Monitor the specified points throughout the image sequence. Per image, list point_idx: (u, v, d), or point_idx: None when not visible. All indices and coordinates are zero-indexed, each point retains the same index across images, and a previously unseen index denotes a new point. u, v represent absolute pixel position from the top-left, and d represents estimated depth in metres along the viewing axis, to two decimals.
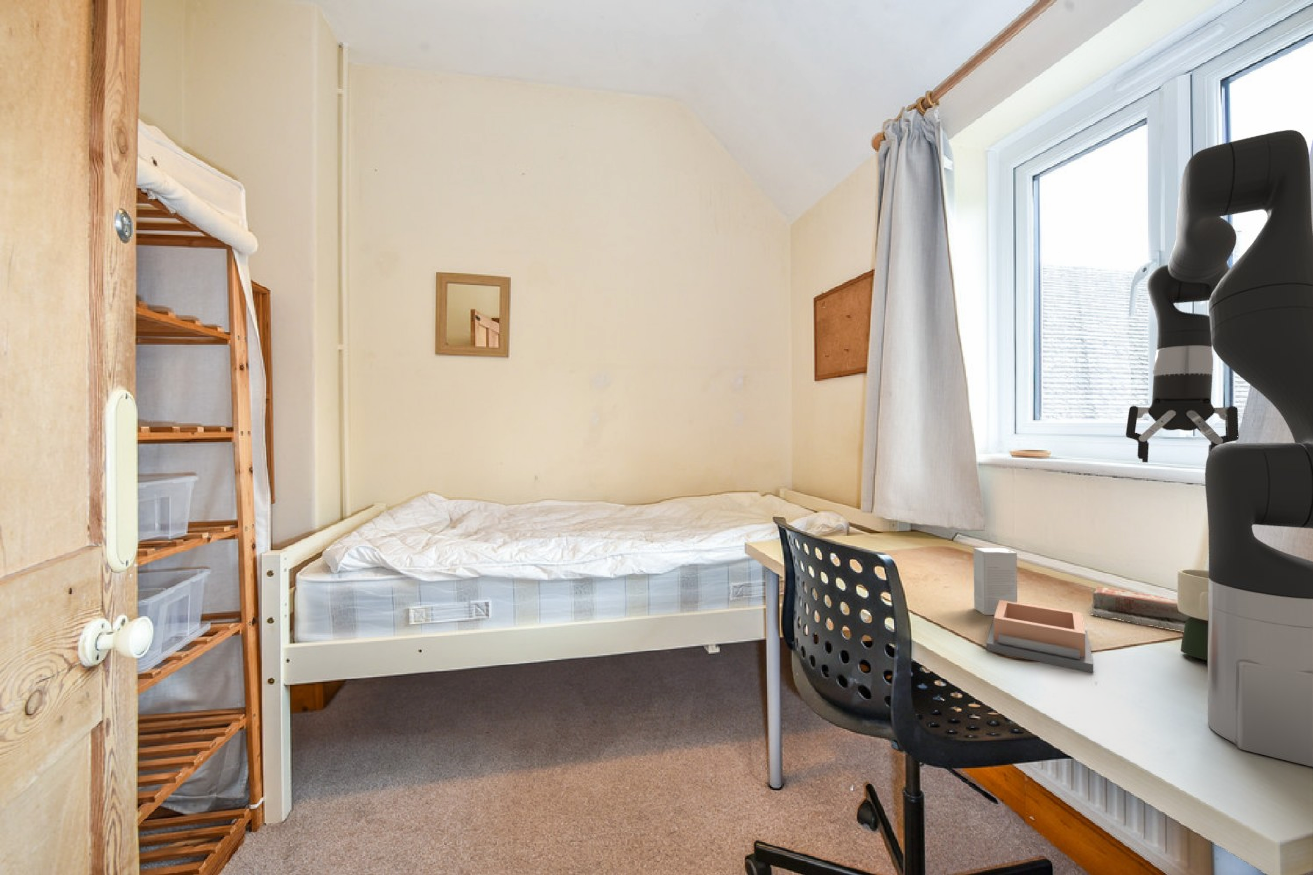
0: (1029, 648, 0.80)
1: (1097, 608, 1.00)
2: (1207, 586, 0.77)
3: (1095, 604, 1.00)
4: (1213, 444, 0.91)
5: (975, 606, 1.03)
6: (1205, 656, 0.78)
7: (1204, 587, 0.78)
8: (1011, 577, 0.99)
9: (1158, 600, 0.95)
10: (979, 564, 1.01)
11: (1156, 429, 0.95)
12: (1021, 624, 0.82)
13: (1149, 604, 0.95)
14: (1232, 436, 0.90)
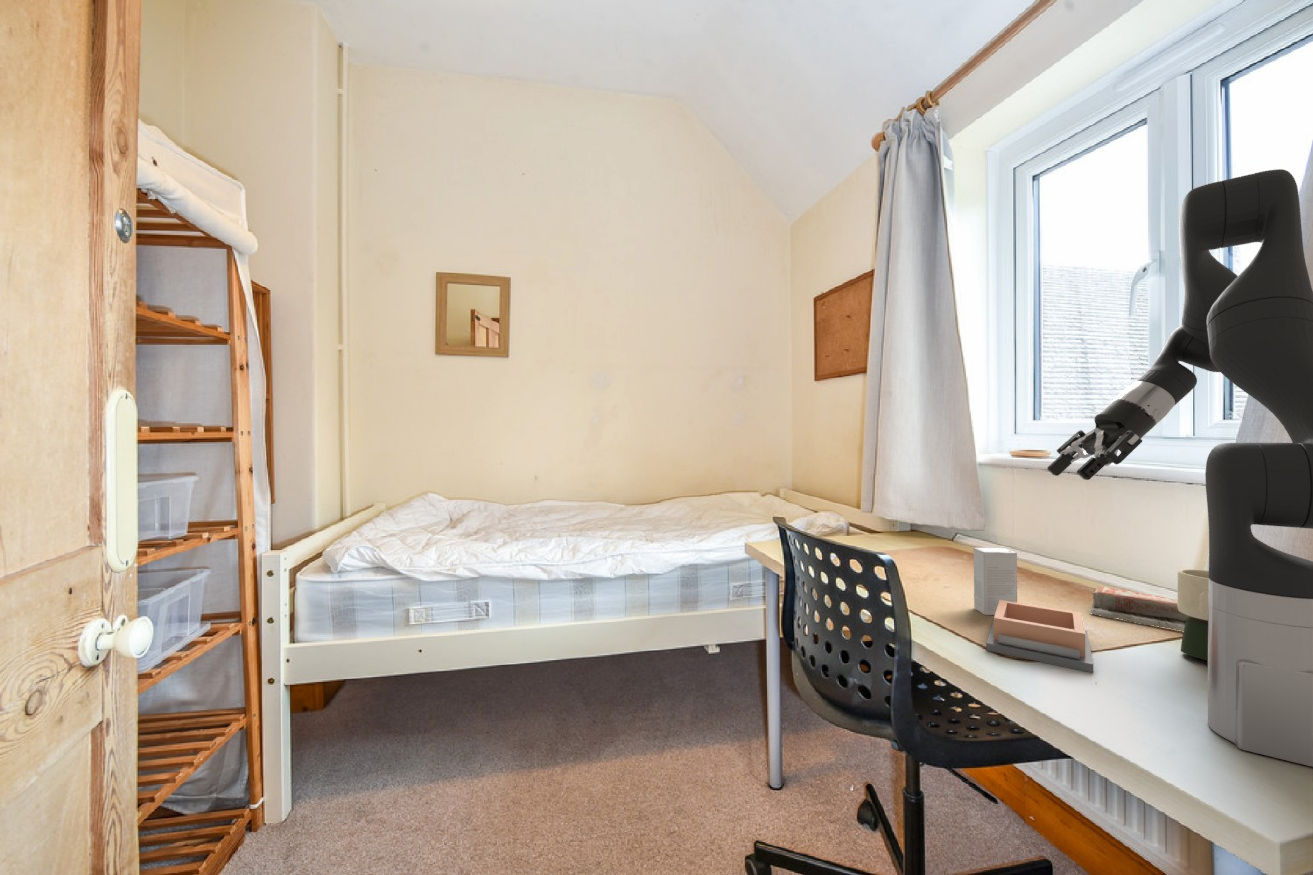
0: (1029, 648, 0.80)
1: (1097, 608, 1.00)
2: (1207, 586, 0.77)
3: (1095, 604, 1.00)
4: (1094, 458, 0.94)
5: (975, 606, 1.03)
6: (1205, 656, 0.78)
7: (1204, 587, 0.78)
8: (1011, 577, 0.99)
9: (1158, 600, 0.95)
10: (979, 564, 1.01)
11: (1073, 444, 1.01)
12: (1021, 624, 0.82)
13: (1148, 603, 0.95)
14: (1107, 451, 0.91)
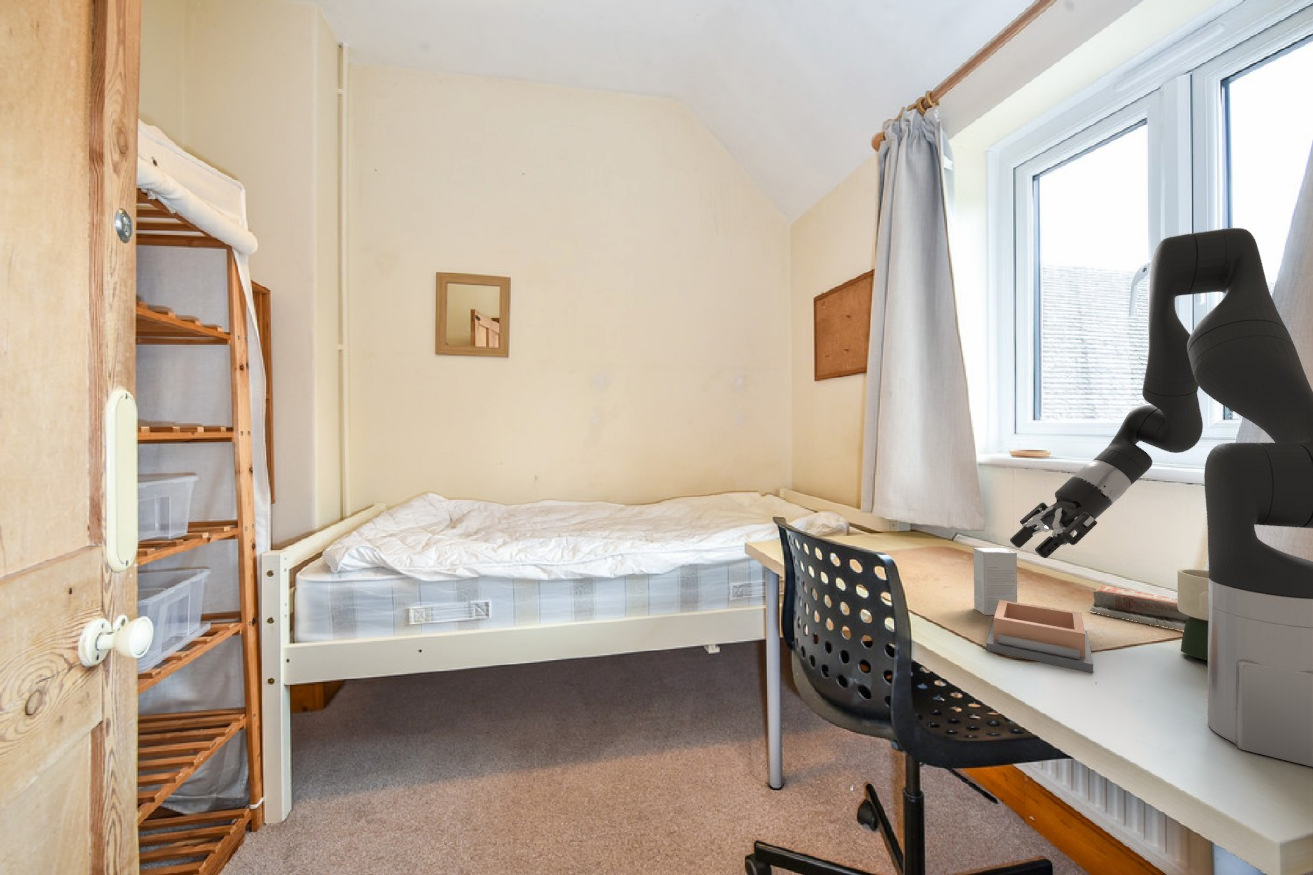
0: (1029, 648, 0.80)
1: (1097, 606, 1.01)
2: (1207, 586, 0.77)
3: (1095, 602, 1.01)
4: None
5: (975, 606, 1.03)
6: (1205, 656, 0.78)
7: (1204, 587, 0.78)
8: (1011, 577, 0.99)
9: (1158, 599, 0.95)
10: (979, 564, 1.01)
11: (1034, 518, 1.03)
12: (1021, 624, 0.82)
13: (1148, 603, 0.96)
14: (1063, 532, 0.94)
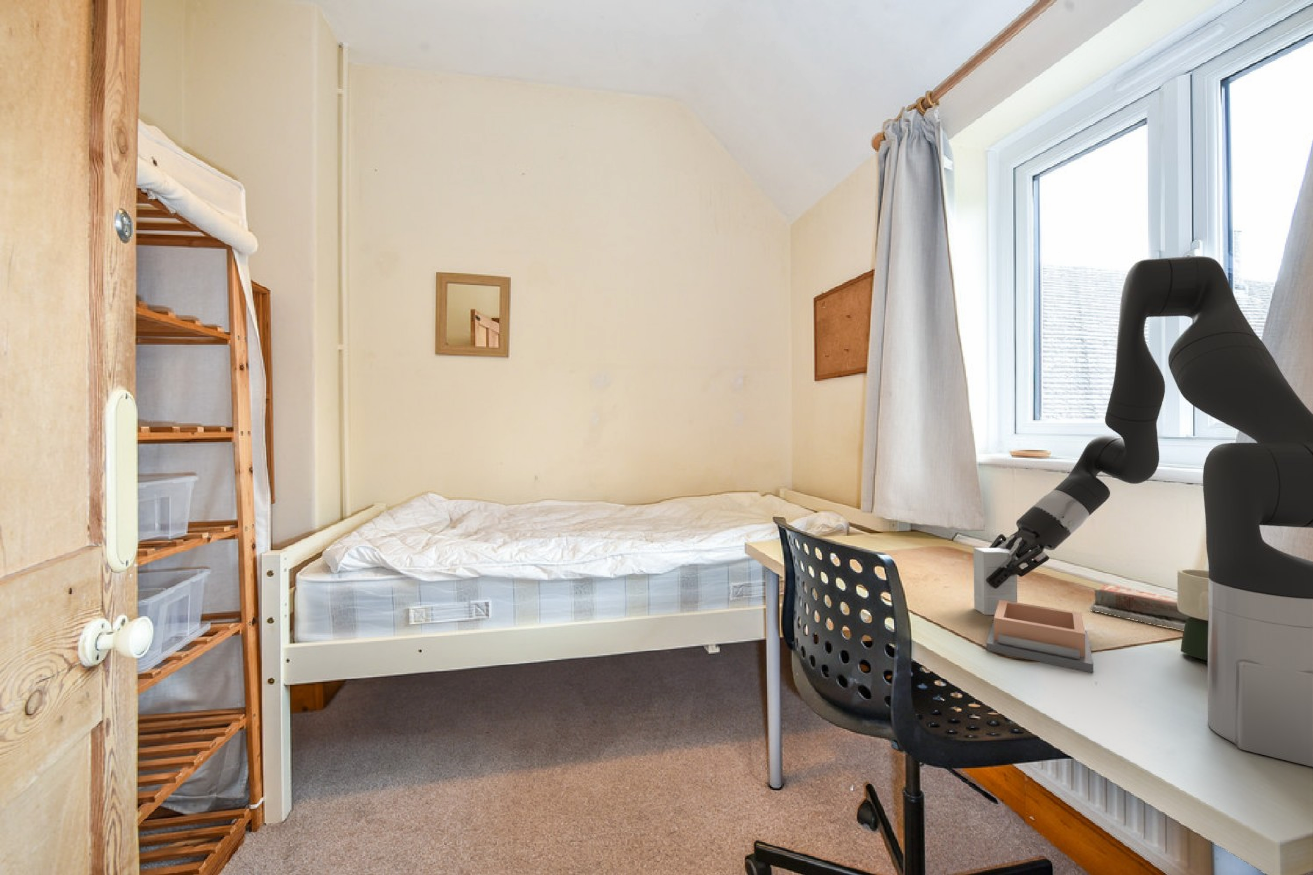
0: (1029, 648, 0.80)
1: (1098, 605, 1.02)
2: (1207, 586, 0.77)
3: (1096, 600, 1.02)
4: (1002, 566, 0.99)
5: (975, 605, 1.03)
6: (1205, 656, 0.78)
7: (1204, 587, 0.78)
8: (1011, 577, 0.99)
9: (1158, 598, 0.96)
10: (979, 564, 1.01)
11: None
12: (1021, 624, 0.82)
13: (1148, 602, 0.96)
14: (1012, 563, 0.96)
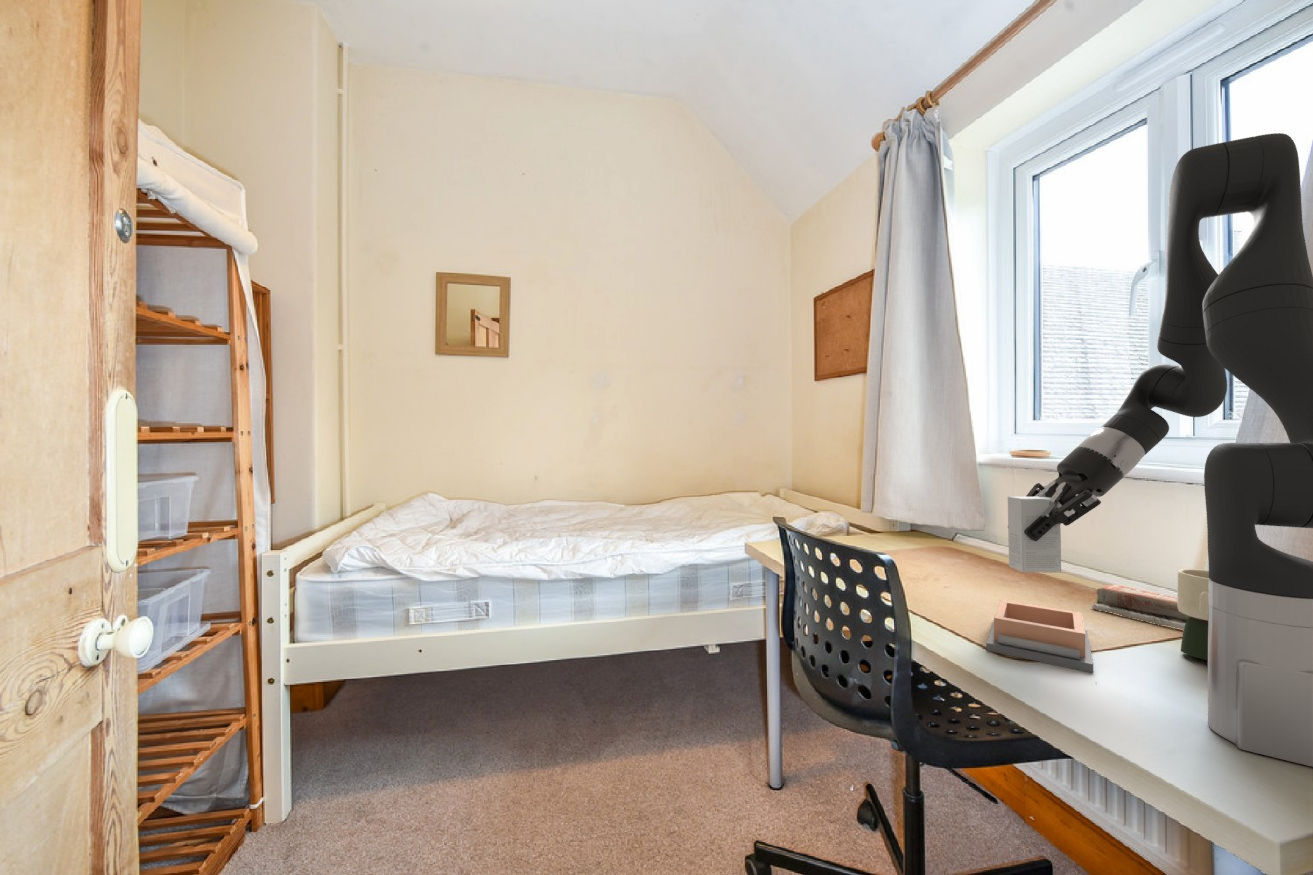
0: (1029, 648, 0.80)
1: (1100, 603, 1.03)
2: (1207, 586, 0.77)
3: (1098, 599, 1.03)
4: None
5: (1010, 563, 0.89)
6: (1205, 656, 0.78)
7: (1204, 587, 0.78)
8: (1053, 528, 0.85)
9: (1159, 598, 0.96)
10: (1015, 514, 0.87)
11: None
12: (1021, 624, 0.82)
13: (1148, 601, 0.97)
14: (1056, 510, 0.82)
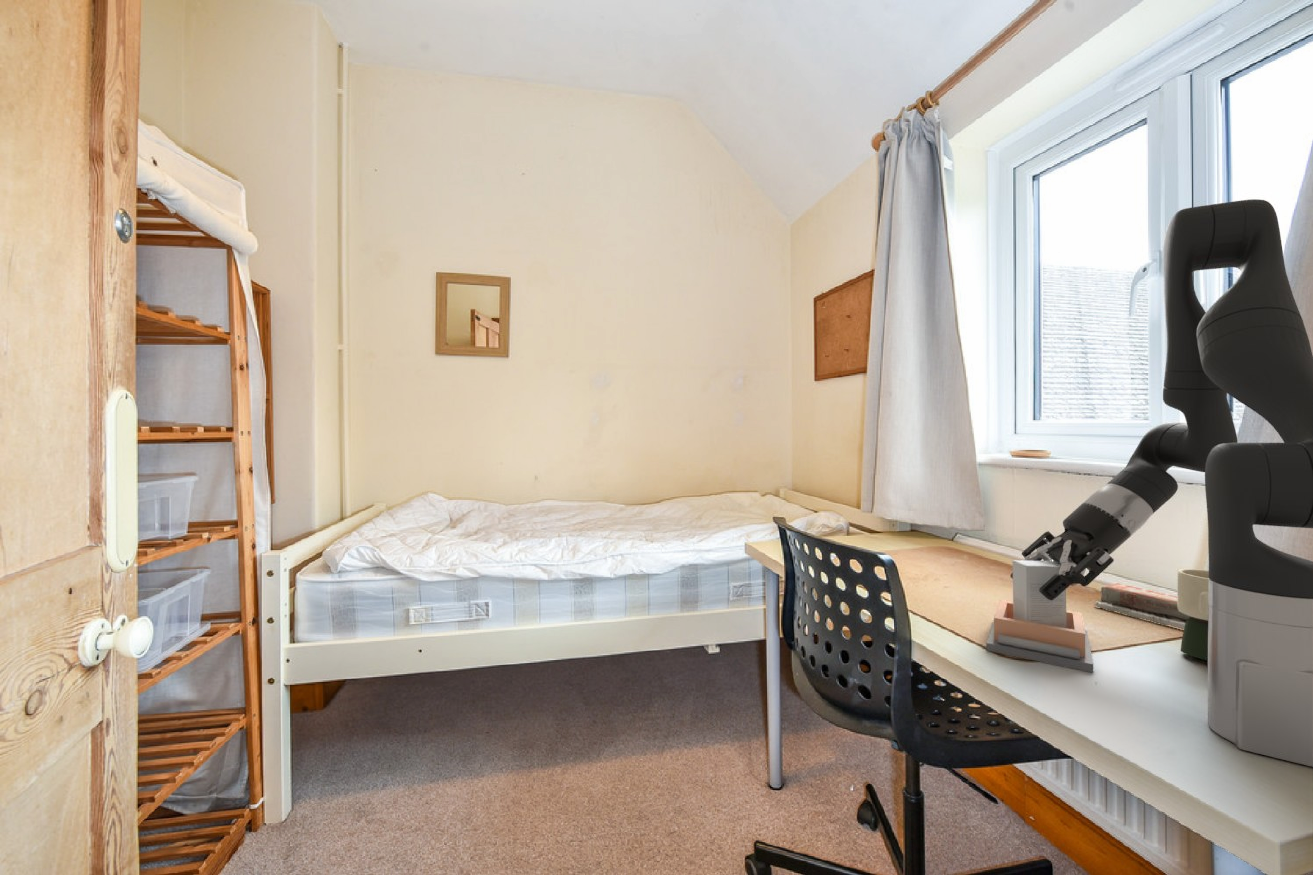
0: (1029, 648, 0.80)
1: (1103, 601, 1.04)
2: (1207, 586, 0.77)
3: (1102, 597, 1.04)
4: (1058, 575, 0.82)
5: None
6: (1205, 656, 0.78)
7: (1204, 587, 0.78)
8: (1059, 595, 0.84)
9: (1161, 597, 0.97)
10: (1020, 580, 0.86)
11: (1039, 550, 0.88)
12: (1021, 624, 0.82)
13: (1149, 600, 0.97)
14: (1073, 570, 0.79)
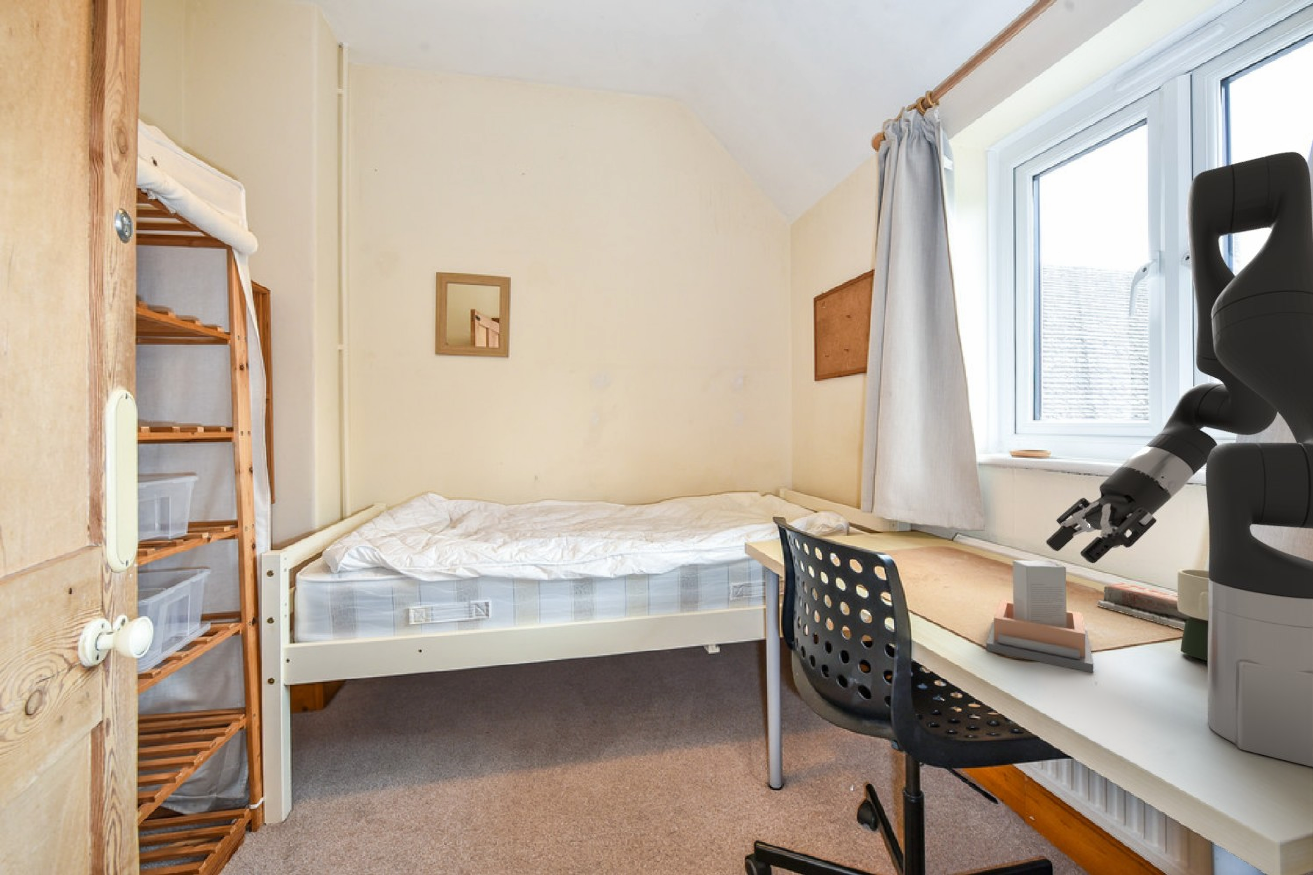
0: (1029, 648, 0.80)
1: (1106, 601, 1.04)
2: (1207, 586, 0.77)
3: (1105, 596, 1.05)
4: (1100, 537, 0.81)
5: None
6: (1205, 656, 0.78)
7: (1204, 587, 0.78)
8: (1059, 596, 0.84)
9: (1162, 597, 0.97)
10: (1020, 580, 0.86)
11: (1075, 515, 0.88)
12: (1021, 624, 0.82)
13: (1150, 599, 0.98)
14: (1116, 531, 0.78)
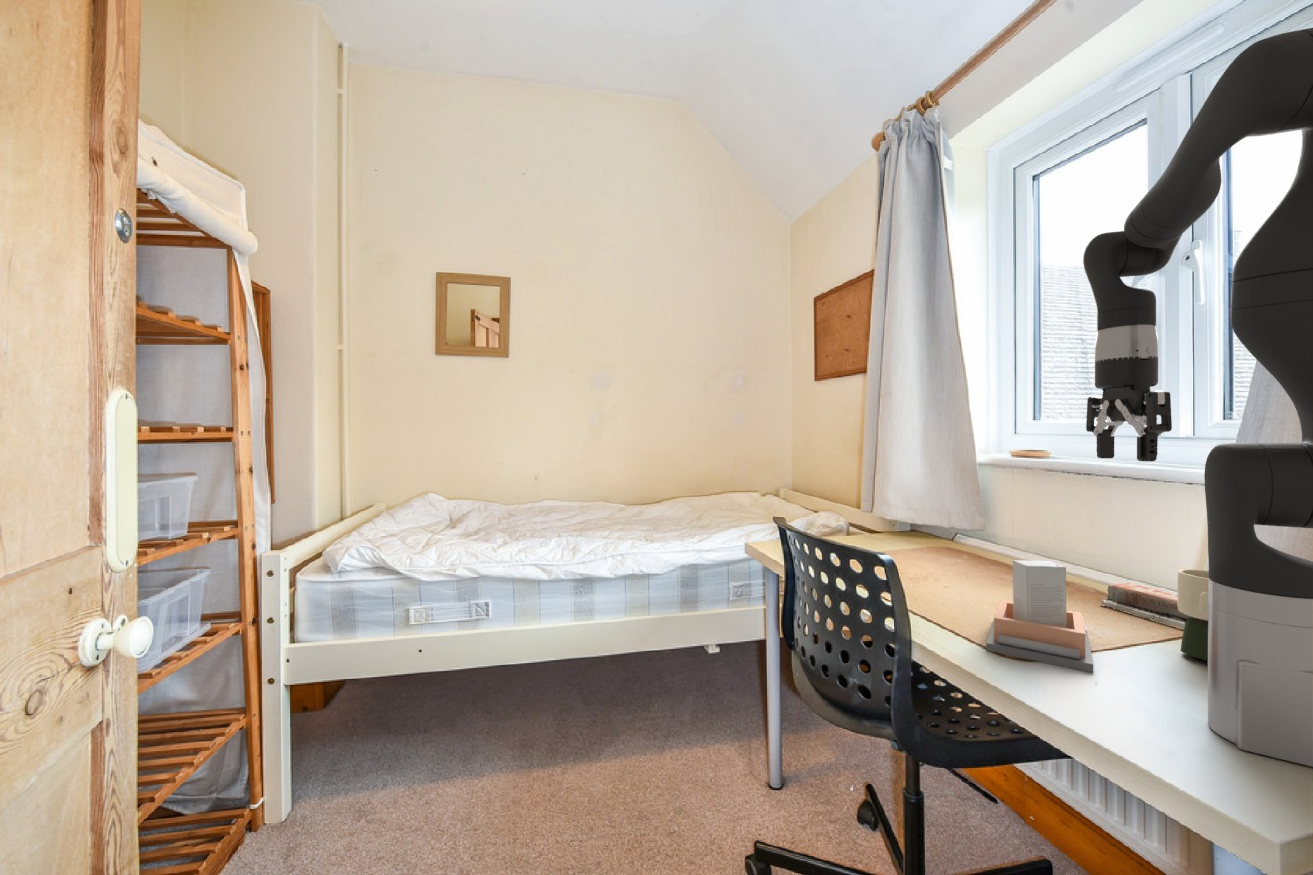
0: (1029, 648, 0.80)
1: (1109, 600, 1.05)
2: (1207, 586, 0.77)
3: (1108, 596, 1.05)
4: None
5: None
6: (1205, 656, 0.78)
7: (1204, 587, 0.78)
8: (1059, 596, 0.84)
9: (1163, 596, 0.97)
10: (1020, 580, 0.86)
11: (1099, 421, 0.87)
12: (1021, 624, 0.82)
13: (1152, 599, 0.98)
14: (1149, 426, 0.78)
